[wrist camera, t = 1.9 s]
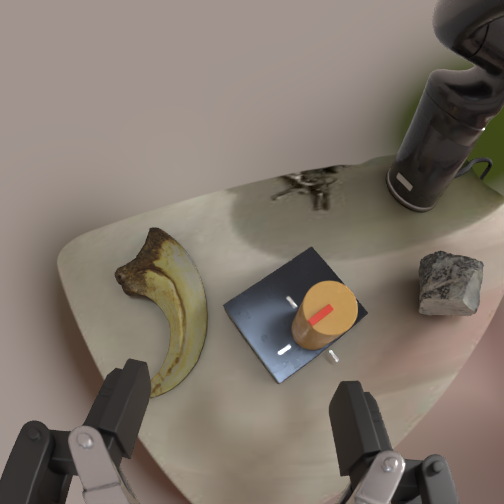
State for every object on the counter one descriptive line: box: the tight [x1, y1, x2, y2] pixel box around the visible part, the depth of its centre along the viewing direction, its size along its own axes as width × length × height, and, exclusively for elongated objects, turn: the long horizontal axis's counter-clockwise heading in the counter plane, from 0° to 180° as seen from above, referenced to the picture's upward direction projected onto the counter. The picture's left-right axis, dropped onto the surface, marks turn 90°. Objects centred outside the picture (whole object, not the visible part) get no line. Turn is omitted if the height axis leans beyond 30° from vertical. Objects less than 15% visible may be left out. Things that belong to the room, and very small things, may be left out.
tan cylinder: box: [292, 281, 358, 350], centre depth 24 cm, size 4×4×8 cm
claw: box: [115, 227, 207, 398], centre depth 30 cm, size 20×10×3 cm, turn 16°
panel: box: [223, 247, 368, 384], centre depth 30 cm, size 12×12×3 cm
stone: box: [419, 251, 484, 316], centre depth 28 cm, size 10×10×10 cm
